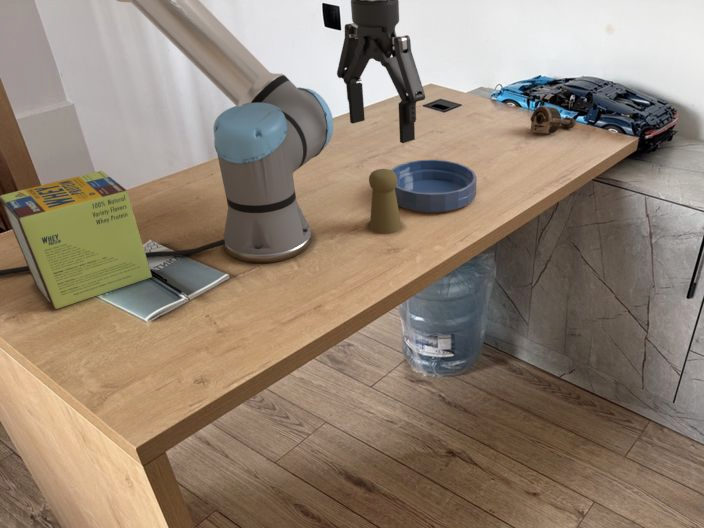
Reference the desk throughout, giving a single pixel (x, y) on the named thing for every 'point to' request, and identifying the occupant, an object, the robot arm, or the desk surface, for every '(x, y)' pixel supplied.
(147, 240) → the desk surface
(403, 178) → the bowl
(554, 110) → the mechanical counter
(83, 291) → the protein box
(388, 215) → the olive peg doll
